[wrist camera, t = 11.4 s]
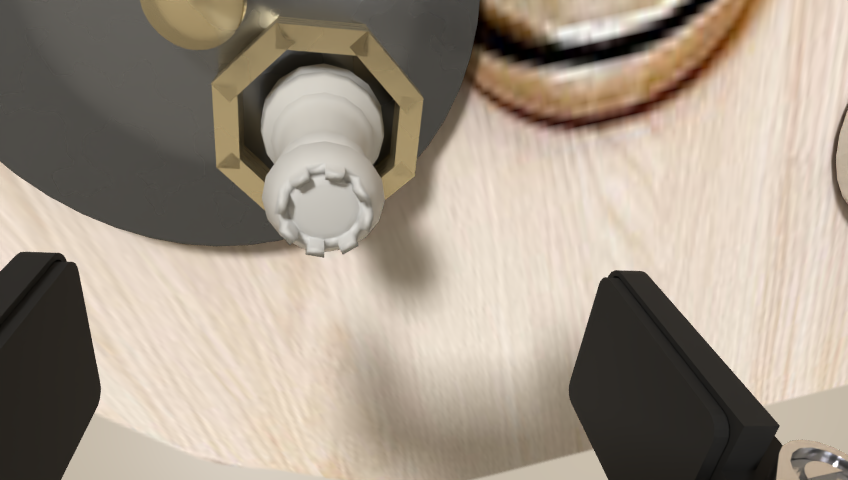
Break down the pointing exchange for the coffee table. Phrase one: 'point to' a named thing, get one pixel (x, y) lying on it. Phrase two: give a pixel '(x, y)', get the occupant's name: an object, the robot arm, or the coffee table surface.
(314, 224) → the rook chess piece
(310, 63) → the carrier plate
